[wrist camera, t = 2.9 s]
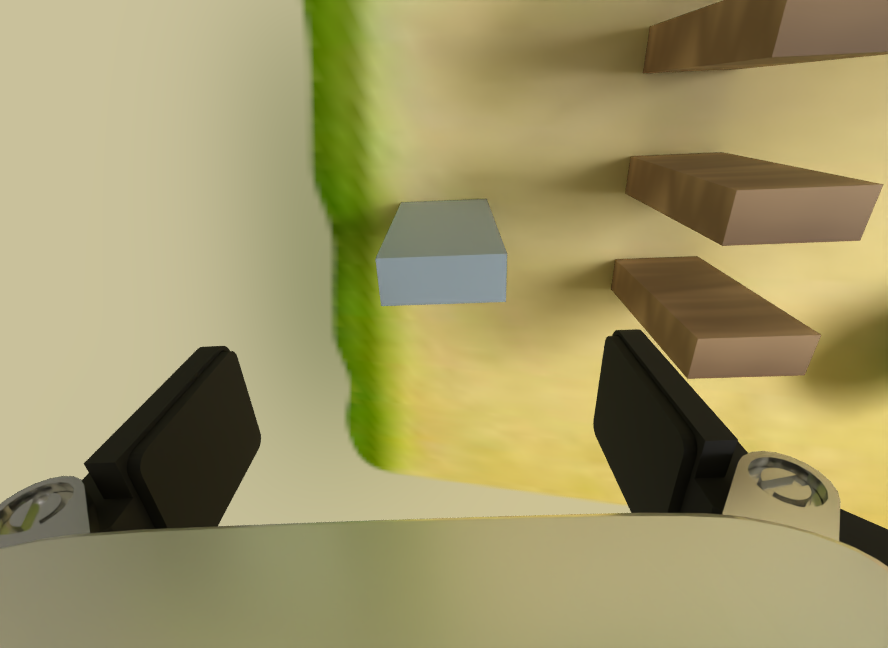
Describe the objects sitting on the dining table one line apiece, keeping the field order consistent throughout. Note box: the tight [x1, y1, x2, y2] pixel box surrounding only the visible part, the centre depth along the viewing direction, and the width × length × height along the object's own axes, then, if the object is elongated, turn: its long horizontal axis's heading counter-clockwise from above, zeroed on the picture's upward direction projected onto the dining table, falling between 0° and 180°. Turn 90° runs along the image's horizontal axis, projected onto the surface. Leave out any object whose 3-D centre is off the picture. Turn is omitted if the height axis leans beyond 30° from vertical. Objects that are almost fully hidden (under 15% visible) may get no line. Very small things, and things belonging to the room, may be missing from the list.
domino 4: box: [611, 256, 821, 379], centre depth 23 cm, size 2×5×10 cm, turn 92°
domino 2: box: [643, 0, 888, 73], centre depth 17 cm, size 2×5×10 cm, turn 93°
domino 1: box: [376, 199, 507, 306], centre depth 21 cm, size 2×5×10 cm, turn 93°
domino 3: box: [625, 152, 883, 246], centre depth 20 cm, size 2×5×10 cm, turn 93°
